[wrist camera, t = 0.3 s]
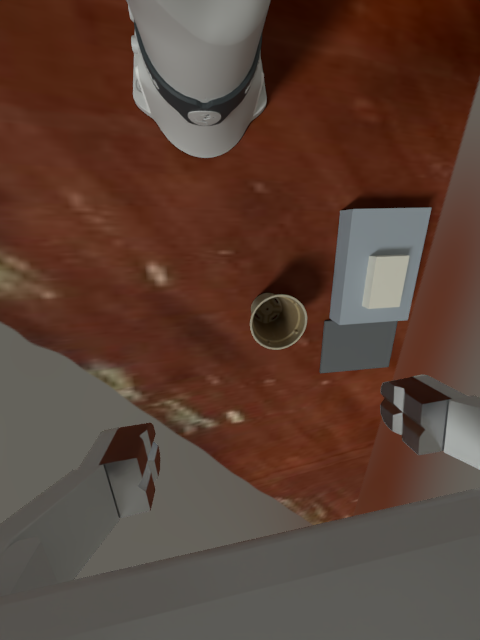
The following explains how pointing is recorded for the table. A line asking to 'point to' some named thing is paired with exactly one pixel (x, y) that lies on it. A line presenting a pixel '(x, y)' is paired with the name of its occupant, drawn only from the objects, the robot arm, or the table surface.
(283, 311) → the flower pot
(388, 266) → the cream flat block
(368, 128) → the table surface
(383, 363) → the mat
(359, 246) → the plate
